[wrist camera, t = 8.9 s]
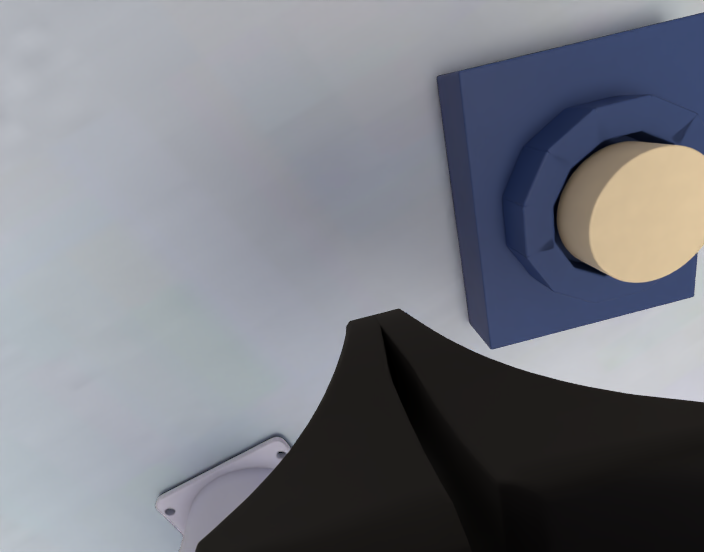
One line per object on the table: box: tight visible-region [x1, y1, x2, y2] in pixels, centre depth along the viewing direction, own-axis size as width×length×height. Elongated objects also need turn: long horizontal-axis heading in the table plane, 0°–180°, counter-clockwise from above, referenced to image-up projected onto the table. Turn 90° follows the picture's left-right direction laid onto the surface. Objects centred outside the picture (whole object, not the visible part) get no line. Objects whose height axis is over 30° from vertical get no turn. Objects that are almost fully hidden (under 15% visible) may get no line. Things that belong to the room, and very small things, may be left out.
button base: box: [437, 12, 704, 349], centre depth 19 cm, size 12×10×4 cm
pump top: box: [557, 141, 704, 283], centre depth 16 cm, size 5×5×2 cm
